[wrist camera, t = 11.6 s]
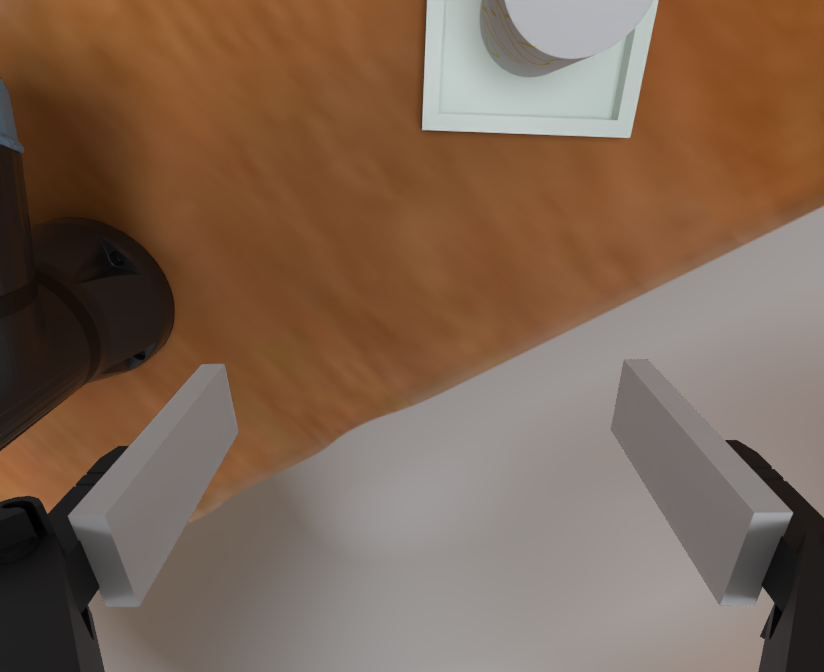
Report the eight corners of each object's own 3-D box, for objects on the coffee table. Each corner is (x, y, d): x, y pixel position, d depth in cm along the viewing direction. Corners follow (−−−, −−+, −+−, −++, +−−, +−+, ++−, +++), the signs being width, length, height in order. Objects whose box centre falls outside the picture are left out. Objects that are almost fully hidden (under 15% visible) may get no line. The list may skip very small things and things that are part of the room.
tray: (422, 129, 39) (422, 129, 37) (432, -126, 33) (432, -144, 30) (618, 137, 39) (630, 137, 37) (668, -119, 32) (686, -137, 30)
